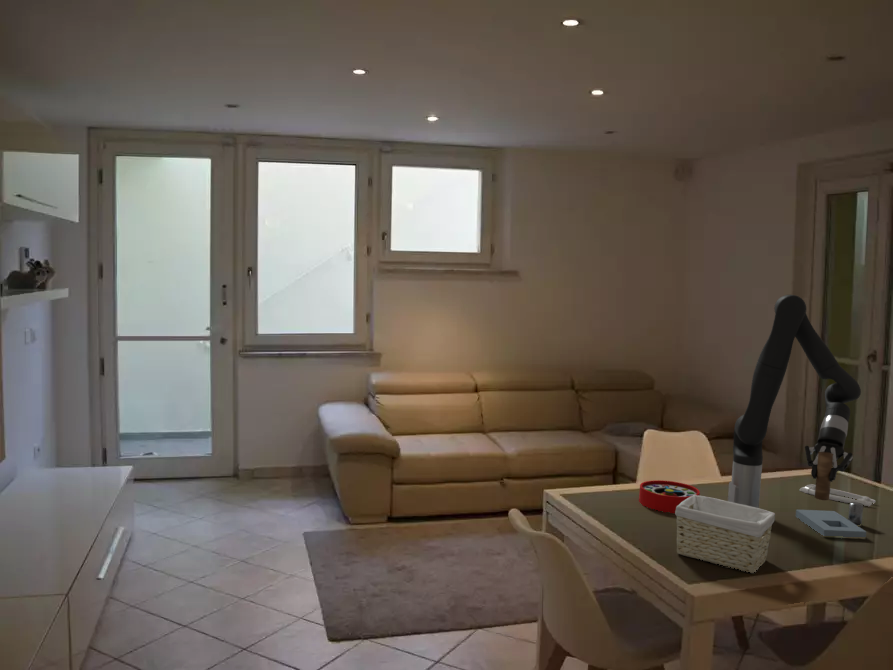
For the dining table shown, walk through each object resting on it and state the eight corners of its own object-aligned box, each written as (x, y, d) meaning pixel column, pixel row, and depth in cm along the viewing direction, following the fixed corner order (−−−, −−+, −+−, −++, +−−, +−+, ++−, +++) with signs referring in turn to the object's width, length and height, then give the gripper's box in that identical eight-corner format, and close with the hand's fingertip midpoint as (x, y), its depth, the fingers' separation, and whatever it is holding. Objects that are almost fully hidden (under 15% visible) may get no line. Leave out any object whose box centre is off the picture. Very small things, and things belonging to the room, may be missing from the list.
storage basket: (773, 561, 221) (777, 510, 219) (757, 578, 208) (761, 524, 206) (689, 540, 235) (693, 492, 233) (670, 555, 222) (673, 505, 220)
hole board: (823, 537, 242) (824, 529, 242) (795, 516, 262) (796, 509, 261) (865, 539, 242) (866, 531, 242) (834, 518, 262) (834, 511, 261)
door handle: (868, 510, 274) (796, 493, 292) (877, 505, 281) (806, 488, 299) (869, 502, 274) (797, 486, 292) (878, 497, 281) (807, 481, 298)
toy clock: (645, 495, 260) (635, 478, 280) (644, 512, 261) (634, 494, 281) (706, 498, 259) (692, 482, 279) (705, 516, 259) (691, 498, 279)
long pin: (818, 500, 235) (822, 454, 234) (812, 496, 239) (816, 451, 238) (831, 500, 235) (835, 455, 234) (825, 496, 239) (829, 451, 238)
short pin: (851, 526, 254) (853, 505, 254) (845, 522, 258) (847, 501, 258) (863, 526, 254) (865, 505, 254) (857, 522, 258) (859, 502, 258)
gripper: (807, 422, 245) (796, 467, 237) (858, 429, 237) (847, 476, 229) (809, 436, 250) (798, 481, 242) (859, 443, 242) (849, 490, 233)
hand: (822, 478), depth 235 cm, fingers closed on long pin, 4 cm apart
